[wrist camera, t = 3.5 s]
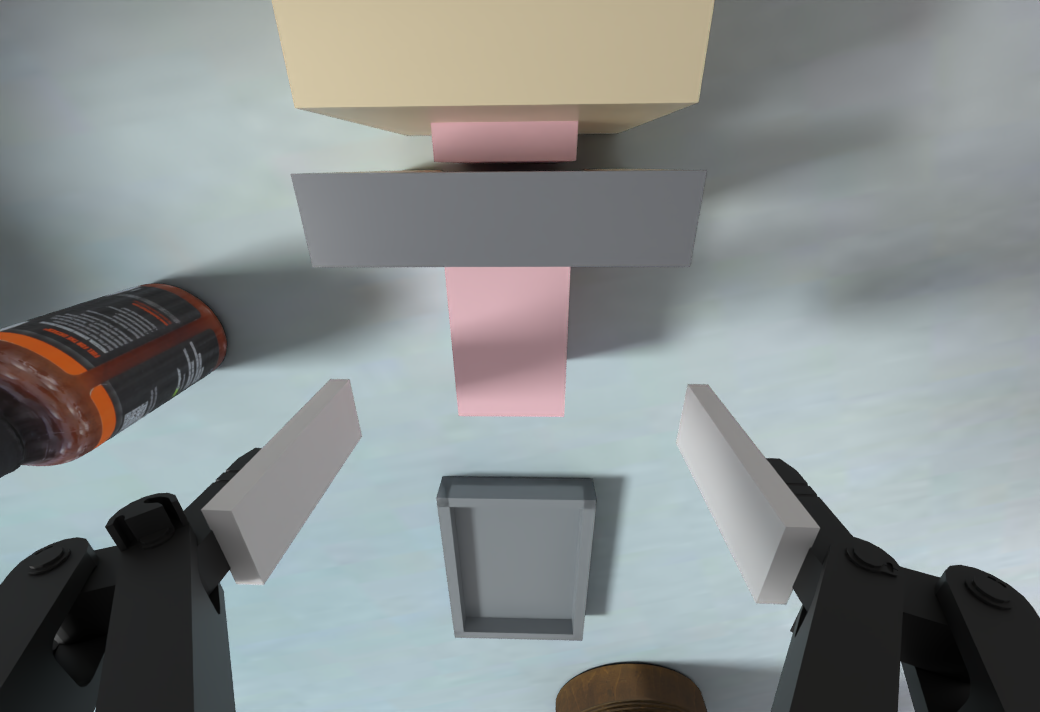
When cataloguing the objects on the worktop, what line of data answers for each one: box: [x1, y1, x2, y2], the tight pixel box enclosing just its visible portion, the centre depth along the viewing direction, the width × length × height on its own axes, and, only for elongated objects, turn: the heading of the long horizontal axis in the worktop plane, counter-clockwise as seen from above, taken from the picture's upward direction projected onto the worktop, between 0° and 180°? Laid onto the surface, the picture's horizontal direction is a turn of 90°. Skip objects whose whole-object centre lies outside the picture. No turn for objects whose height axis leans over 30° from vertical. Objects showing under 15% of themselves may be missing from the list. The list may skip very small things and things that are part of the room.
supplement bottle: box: [0, 284, 227, 478], centre depth 19 cm, size 6×6×11 cm
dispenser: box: [272, 0, 715, 267], centre depth 13 cm, size 11×12×10 cm
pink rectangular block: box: [445, 267, 570, 417], centre depth 19 cm, size 5×10×6 cm, turn 1°
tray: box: [436, 477, 597, 641], centre depth 30 cm, size 11×16×2 cm
